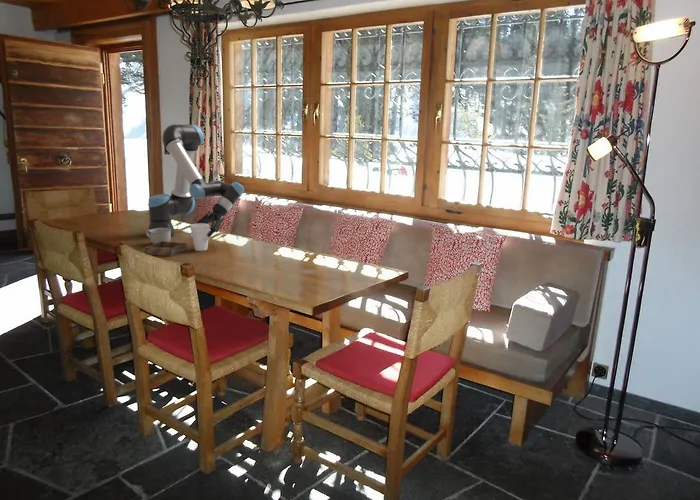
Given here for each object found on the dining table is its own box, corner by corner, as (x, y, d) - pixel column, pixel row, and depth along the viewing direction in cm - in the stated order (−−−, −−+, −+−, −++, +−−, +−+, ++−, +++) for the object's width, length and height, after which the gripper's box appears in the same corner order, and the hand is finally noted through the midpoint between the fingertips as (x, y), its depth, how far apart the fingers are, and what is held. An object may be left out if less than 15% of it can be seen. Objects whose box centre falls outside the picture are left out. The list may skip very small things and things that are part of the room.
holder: (145, 254, 269) (144, 247, 268) (161, 247, 282) (161, 241, 282) (171, 256, 265) (170, 249, 265) (186, 249, 279) (186, 243, 278)
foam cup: (200, 252, 274) (199, 227, 271) (187, 249, 279) (186, 225, 276) (214, 248, 282) (213, 224, 279) (201, 246, 287) (200, 222, 284)
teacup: (175, 243, 293) (174, 229, 291) (161, 247, 284) (160, 232, 282) (156, 240, 299) (155, 226, 297) (141, 244, 289) (140, 229, 287)
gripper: (239, 215, 277) (213, 247, 271) (215, 208, 295) (191, 239, 289) (229, 205, 272) (203, 238, 266) (206, 200, 291) (181, 230, 284)
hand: (197, 238), depth 278 cm, fingers open, 13 cm apart
